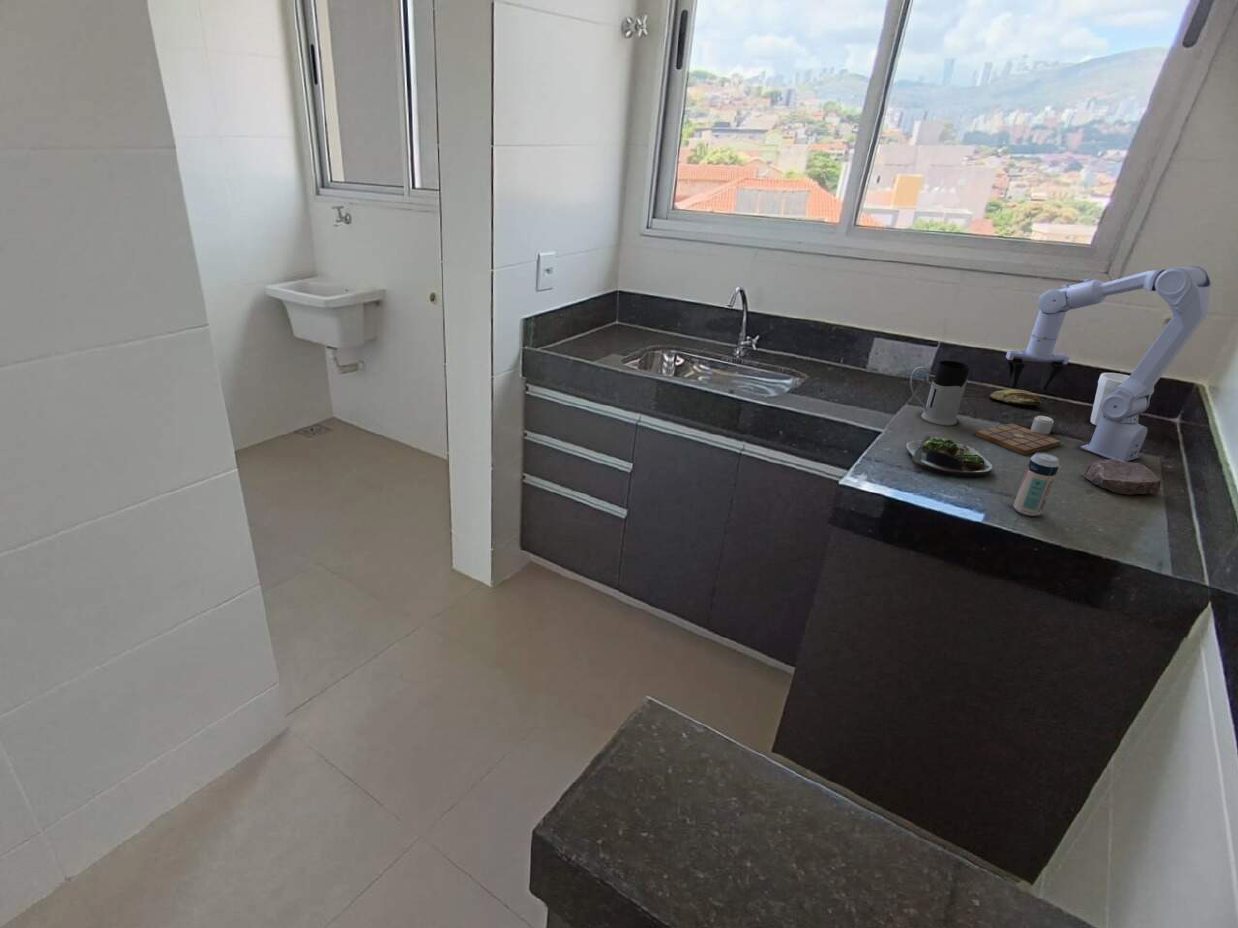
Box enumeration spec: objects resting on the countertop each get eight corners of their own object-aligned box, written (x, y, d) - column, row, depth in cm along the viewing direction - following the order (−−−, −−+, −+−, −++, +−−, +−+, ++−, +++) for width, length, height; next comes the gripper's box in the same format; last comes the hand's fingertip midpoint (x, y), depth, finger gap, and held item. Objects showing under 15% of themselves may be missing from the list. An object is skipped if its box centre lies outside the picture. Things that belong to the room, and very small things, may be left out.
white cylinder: (1053, 432, 170) (1058, 420, 169) (1043, 435, 168) (1048, 422, 167) (1036, 426, 174) (1041, 414, 172) (1027, 429, 172) (1031, 416, 170)
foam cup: (1132, 428, 176) (1151, 382, 171) (1111, 432, 173) (1130, 385, 167) (1096, 415, 184) (1113, 371, 178) (1076, 419, 180) (1093, 374, 175)
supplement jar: (1030, 505, 132) (1050, 452, 127) (1045, 518, 128) (1066, 462, 123) (1007, 505, 132) (1027, 451, 127) (1021, 517, 128) (1042, 461, 123)
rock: (1046, 405, 190) (1049, 393, 189) (1035, 408, 183) (1038, 395, 182) (997, 397, 199) (1000, 386, 198) (985, 400, 192) (988, 387, 191)
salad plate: (889, 439, 160) (893, 422, 158) (963, 444, 160) (969, 427, 158) (916, 474, 143) (921, 455, 141) (1000, 481, 142) (1006, 461, 140)
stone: (1079, 474, 147) (1087, 455, 145) (1135, 481, 146) (1144, 462, 144) (1099, 492, 139) (1108, 473, 137) (1159, 500, 138) (1169, 480, 136)
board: (1058, 445, 163) (1060, 440, 162) (1024, 455, 156) (1025, 450, 155) (1010, 427, 172) (1012, 422, 172) (975, 435, 166) (977, 430, 165)
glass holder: (961, 426, 171) (978, 371, 164) (905, 421, 172) (919, 366, 166) (950, 414, 179) (965, 361, 172) (896, 409, 180) (910, 356, 173)
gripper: (1065, 335, 170) (1048, 385, 176) (1007, 331, 171) (992, 380, 177) (1080, 342, 164) (1061, 393, 170) (1019, 337, 165) (1003, 389, 171)
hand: (1027, 387), depth 173 cm, fingers open, 7 cm apart
